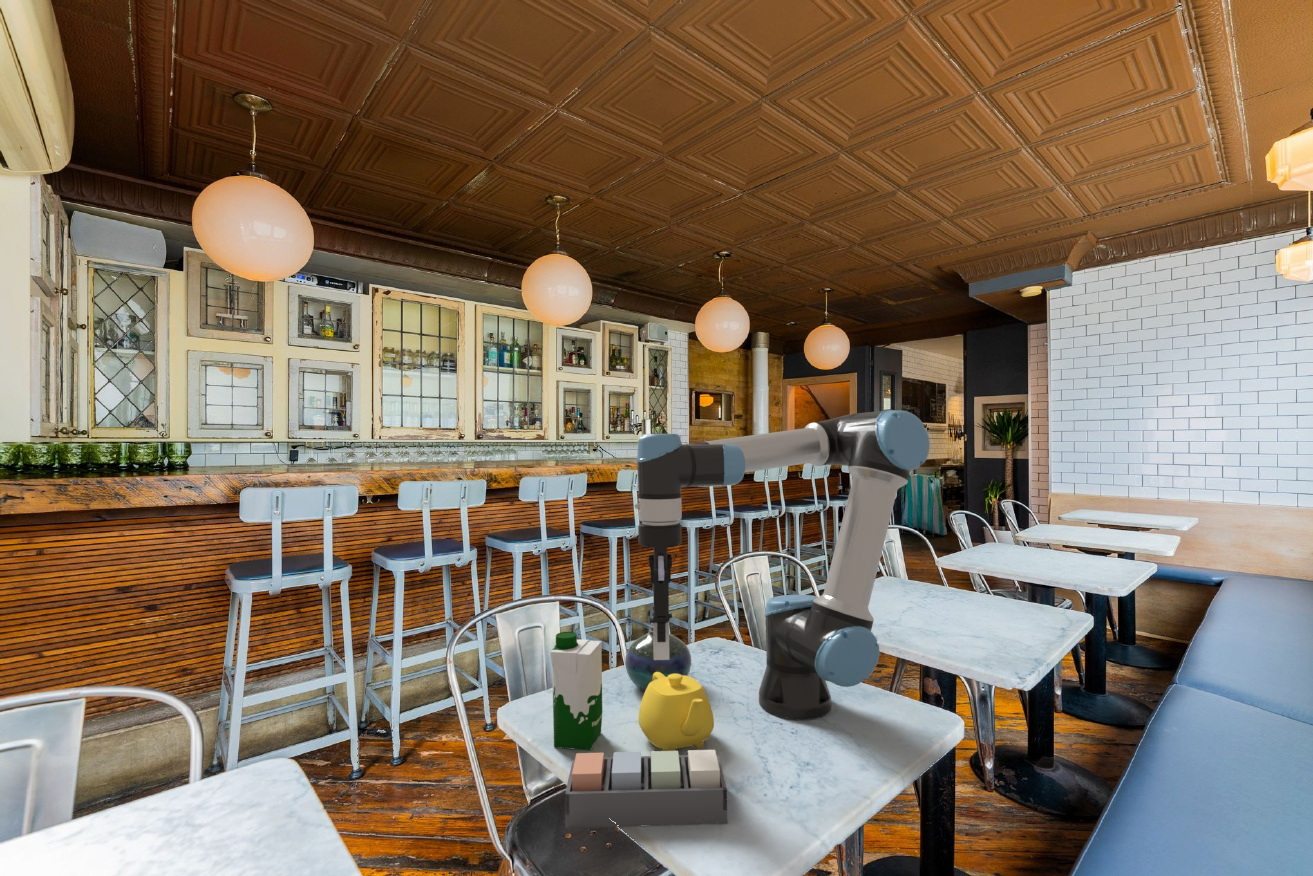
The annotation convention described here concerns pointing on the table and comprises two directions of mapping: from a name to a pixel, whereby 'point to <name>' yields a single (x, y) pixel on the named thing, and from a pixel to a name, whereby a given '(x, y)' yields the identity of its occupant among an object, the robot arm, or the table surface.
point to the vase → (645, 666)
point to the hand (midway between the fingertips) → (661, 658)
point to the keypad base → (646, 802)
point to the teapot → (675, 712)
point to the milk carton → (576, 691)
